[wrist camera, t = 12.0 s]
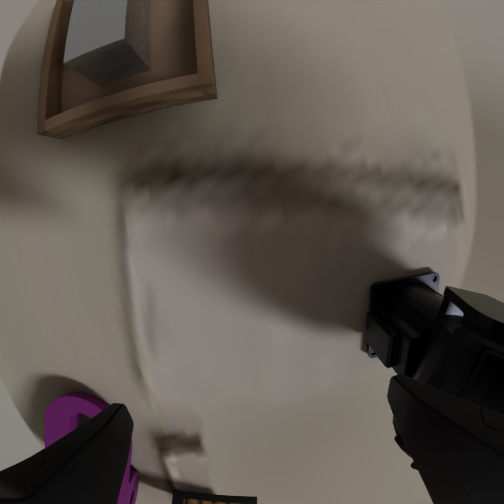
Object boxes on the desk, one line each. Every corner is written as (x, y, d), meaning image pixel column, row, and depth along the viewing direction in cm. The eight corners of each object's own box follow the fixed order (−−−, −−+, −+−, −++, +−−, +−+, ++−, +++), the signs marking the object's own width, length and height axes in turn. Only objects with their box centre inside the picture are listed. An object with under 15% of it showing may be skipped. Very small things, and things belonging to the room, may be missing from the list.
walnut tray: (205, -30, 14) (201, -51, 11) (217, 98, 17) (212, 82, 14) (72, 11, 14) (57, -3, 11) (59, 139, 17) (37, 134, 14)
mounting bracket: (80, 369, 28) (75, 477, 23) (46, 381, 20) (50, 503, 15) (151, 395, 28) (137, 501, 24) (131, 417, 20) (123, 535, 16)
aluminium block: (150, 70, 15) (124, 38, 10) (99, 86, 15) (63, 63, 10) (151, -7, 14) (132, -42, 9) (105, 9, 14) (79, -21, 9)
